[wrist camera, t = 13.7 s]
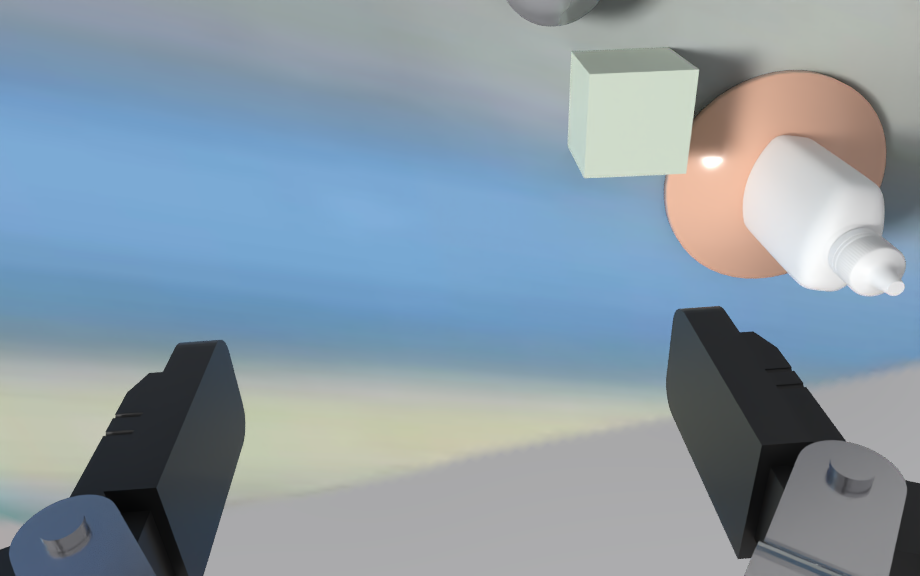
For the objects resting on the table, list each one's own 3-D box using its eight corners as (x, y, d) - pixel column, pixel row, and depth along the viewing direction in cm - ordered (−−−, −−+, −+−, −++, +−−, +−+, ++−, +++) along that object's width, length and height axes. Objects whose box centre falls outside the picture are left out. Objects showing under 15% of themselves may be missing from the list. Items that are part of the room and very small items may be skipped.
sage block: (571, 50, 37) (589, 74, 33) (668, 46, 37) (699, 69, 33) (567, 145, 40) (583, 178, 36) (658, 141, 40) (686, 173, 36)
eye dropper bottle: (840, 165, 40) (985, 266, 30) (763, 240, 42) (873, 359, 32) (787, 119, 39) (921, 208, 28) (711, 198, 41) (808, 309, 30)
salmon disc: (675, 76, 38) (679, 79, 37) (902, 64, 38) (911, 67, 38) (654, 277, 44) (658, 283, 43) (851, 266, 44) (858, 272, 43)
